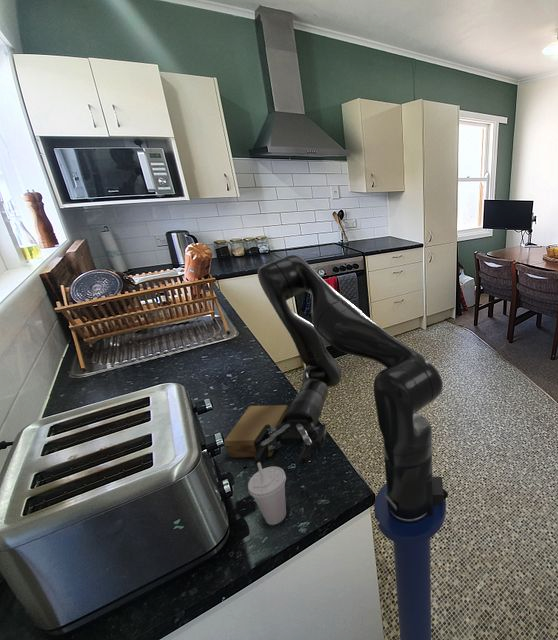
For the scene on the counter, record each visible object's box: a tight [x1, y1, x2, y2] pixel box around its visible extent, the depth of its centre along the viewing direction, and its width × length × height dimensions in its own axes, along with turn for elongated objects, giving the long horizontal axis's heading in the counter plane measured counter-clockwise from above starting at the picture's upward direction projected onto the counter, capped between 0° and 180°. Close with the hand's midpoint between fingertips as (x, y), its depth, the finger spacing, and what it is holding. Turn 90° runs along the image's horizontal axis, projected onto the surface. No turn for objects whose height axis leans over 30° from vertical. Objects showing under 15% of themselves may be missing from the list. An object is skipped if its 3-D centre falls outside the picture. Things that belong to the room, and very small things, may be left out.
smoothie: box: [247, 462, 287, 526], centre depth 64 cm, size 6×6×14 cm
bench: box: [223, 404, 289, 458], centre depth 86 cm, size 10×13×5 cm
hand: (279, 463), depth 69 cm, fingers open, 8 cm apart
